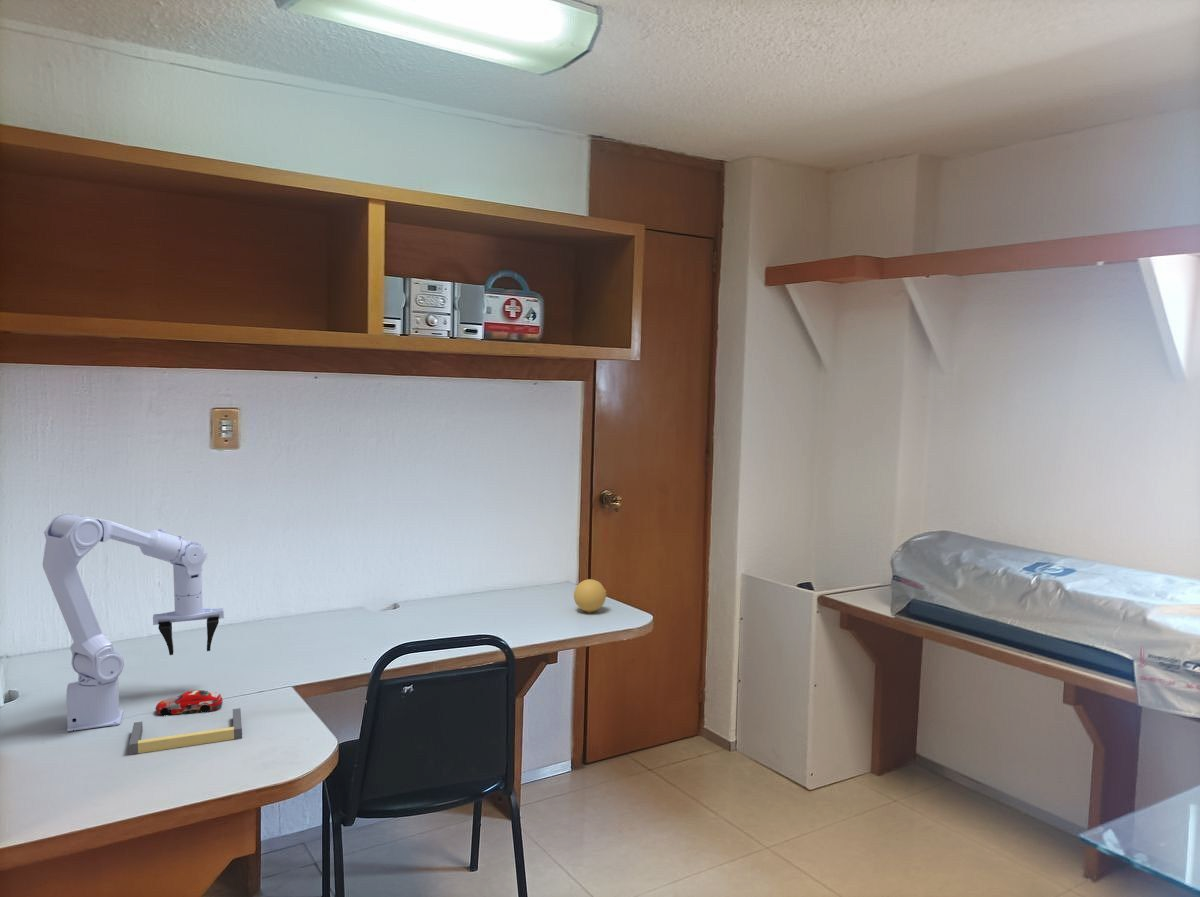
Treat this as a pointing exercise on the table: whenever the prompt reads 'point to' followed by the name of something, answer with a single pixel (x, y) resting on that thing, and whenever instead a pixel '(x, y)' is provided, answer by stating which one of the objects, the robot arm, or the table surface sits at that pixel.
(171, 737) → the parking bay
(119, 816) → the table surface
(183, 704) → the race car
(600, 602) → the stress ball
